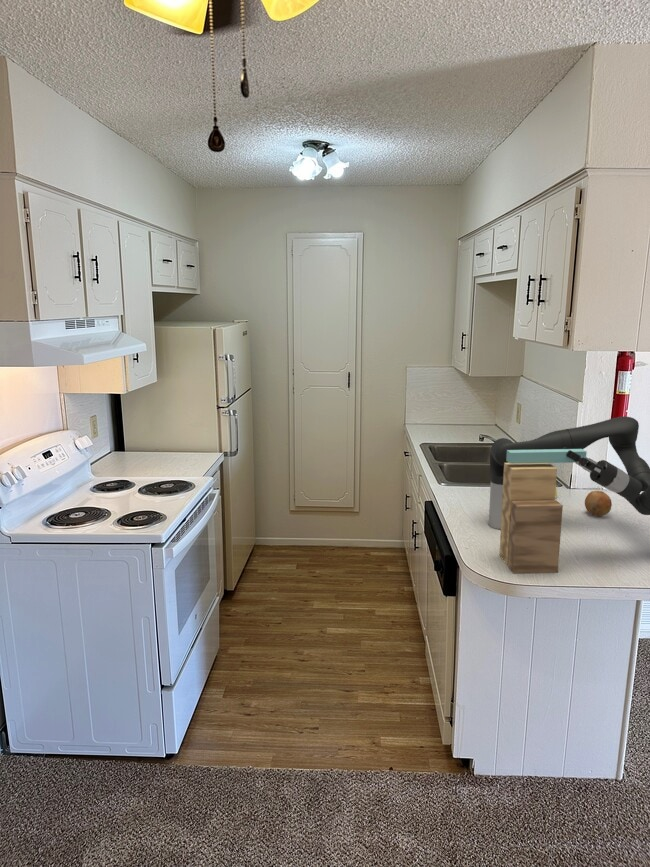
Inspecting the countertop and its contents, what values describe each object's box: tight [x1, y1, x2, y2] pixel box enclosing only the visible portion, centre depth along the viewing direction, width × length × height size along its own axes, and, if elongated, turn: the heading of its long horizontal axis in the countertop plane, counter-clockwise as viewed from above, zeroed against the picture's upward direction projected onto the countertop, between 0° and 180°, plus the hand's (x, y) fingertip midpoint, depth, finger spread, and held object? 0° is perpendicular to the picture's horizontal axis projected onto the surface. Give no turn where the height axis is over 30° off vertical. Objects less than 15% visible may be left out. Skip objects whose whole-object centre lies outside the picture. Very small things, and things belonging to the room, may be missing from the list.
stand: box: [499, 463, 558, 566], centre depth 192 cm, size 8×14×32 cm, turn 91°
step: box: [507, 499, 564, 574], centre depth 186 cm, size 5×14×22 cm, turn 91°
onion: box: [584, 490, 613, 517], centre depth 234 cm, size 10×10×10 cm
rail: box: [506, 449, 588, 464], centre depth 188 cm, size 4×24×4 cm, turn 91°
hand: (565, 451), depth 188 cm, fingers closed on rail, 3 cm apart
